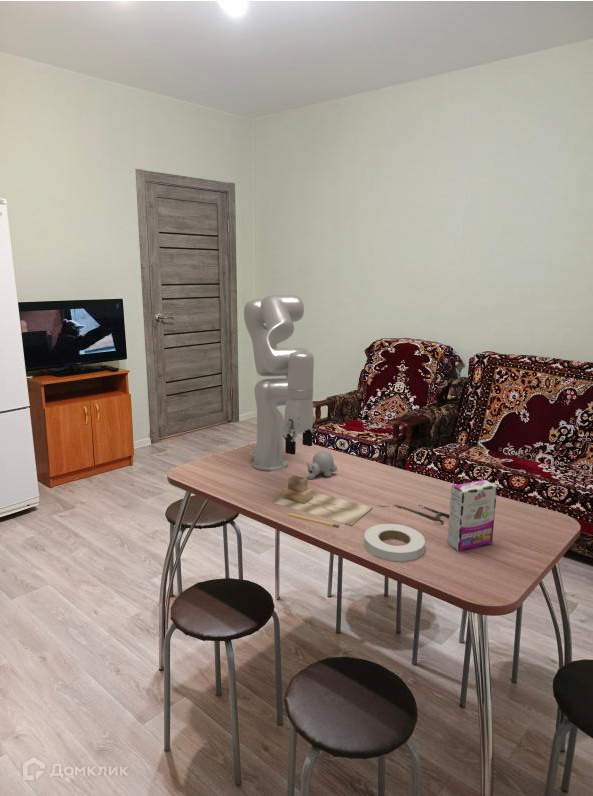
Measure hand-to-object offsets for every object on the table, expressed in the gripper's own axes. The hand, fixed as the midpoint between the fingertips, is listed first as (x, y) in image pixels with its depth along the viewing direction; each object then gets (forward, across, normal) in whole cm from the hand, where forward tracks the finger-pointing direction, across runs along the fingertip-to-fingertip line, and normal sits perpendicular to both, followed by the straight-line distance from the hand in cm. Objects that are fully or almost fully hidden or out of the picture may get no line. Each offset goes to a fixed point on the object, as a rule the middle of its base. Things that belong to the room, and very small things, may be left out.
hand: (299, 449), depth 164 cm
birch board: (+16, 0, +8) cm, 18 cm away
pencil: (+16, +11, +11) cm, 22 cm away
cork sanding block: (+16, 0, 0) cm, 16 cm away
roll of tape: (+17, +11, +36) cm, 41 cm away
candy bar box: (+17, -1, +52) cm, 54 cm away
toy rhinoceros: (+16, -21, -4) cm, 27 cm away
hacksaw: (+17, -12, +34) cm, 40 cm away
